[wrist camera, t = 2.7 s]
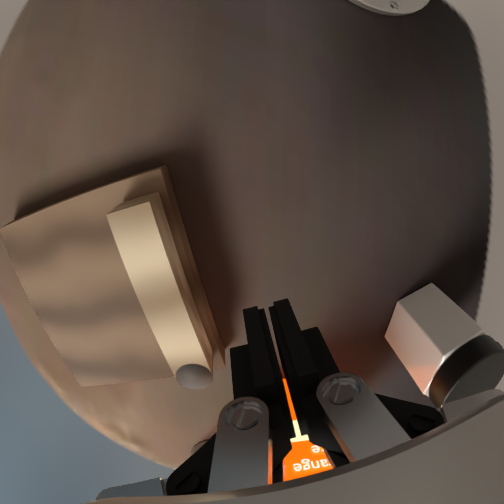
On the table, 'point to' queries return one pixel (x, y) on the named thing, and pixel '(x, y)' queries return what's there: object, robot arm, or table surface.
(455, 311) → the jar
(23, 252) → the stool top
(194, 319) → the hinged leg
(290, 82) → the table surface
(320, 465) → the orange juice
